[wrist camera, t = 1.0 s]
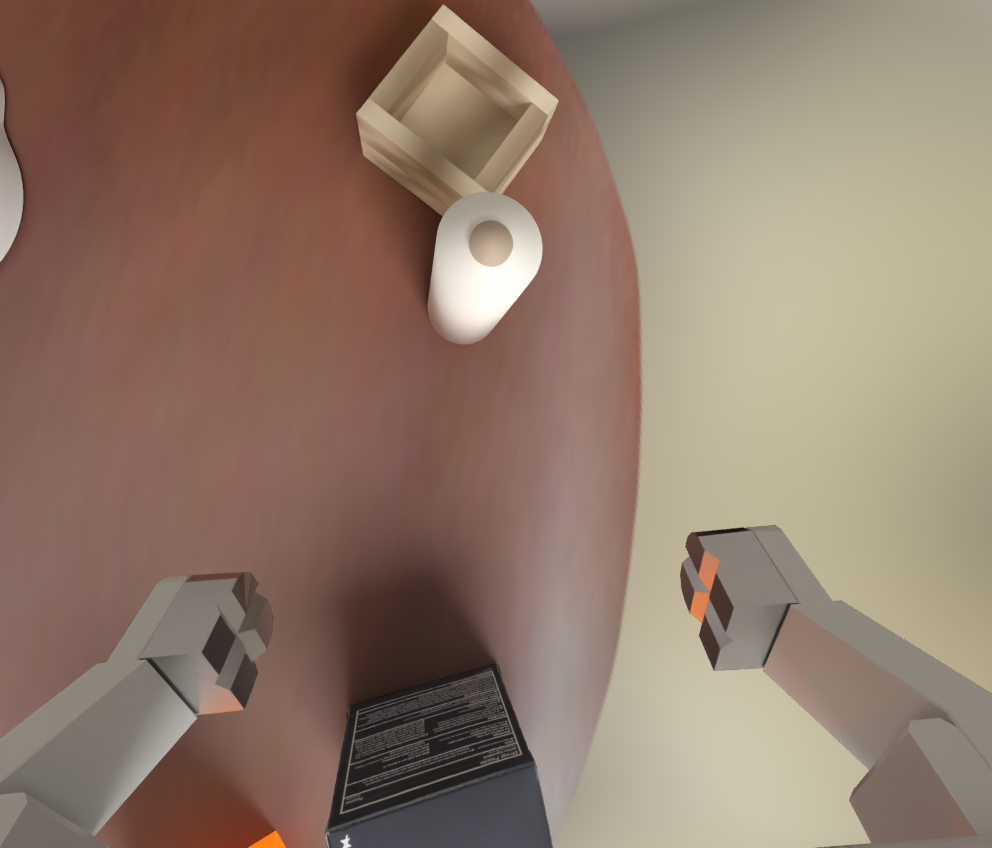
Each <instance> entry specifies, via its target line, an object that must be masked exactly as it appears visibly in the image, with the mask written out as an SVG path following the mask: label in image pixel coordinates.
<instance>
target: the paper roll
mask: <svg viewBox="0 0 992 848" xmlns="http://www.w3.org/2000/svg"><path fill="white" fill-rule="evenodd" d="M541 258H542V239H541V235H540V232H539V229H538V226H537V224H536V222H535V220H534V219H533V217H532V216H531V215H530V213H529V212H528V211H527V210H526V209H525V208H524V207H523V206H522V205H521V204H519V203H518V202H517V201H515V200H513V199H511V198H510V197H507V196H505V195H502V194H498V193H493V192H479V193H473V194H470V195H467V196H465V197H463V198H461V199H459V200H458V201H456V202H455V203H454V204H453V205H452V206H450V208H449V209H448V210H447V211H446V213H445V214H444V216H443V217H442V219H441V222H440V224H439V227H438V231H437V237H436V244H435V252H434V259H433V267H432V274H431V282H430V289H429V297H428V304H427V311H428V317H429V320H430V322H431V324H432V326H433V328H434V329H435V331H436V332H437V333H438V334H439V335H440V336H441V337H443V338H444V339H446V340H448V341H450V342H452V343H456V344H464V345H465V344H472V343H476V342H478V341H480V340H482V339H483V338H485V337H486V336H487V335H488V334H489V333H490V332H491V331H492V329H493V328H494V327H495V326H496V324H497V323H498V322H499V321H500V319H501V318H502V317H503V316H504V314H505V313H506V312H507V311H508V309H509V308H510V307H511V306H512V304H513V303H514V302H515V301H516V299H517V298H518V297H519V296H520V294H521V293H522V292H523V291H524V289H525V288H526V287H527V286H528V284H529V283H530V282H531V281H532V279H533V278H534V276H535V275H536V273H537V271H538V269H539V266H540V263H541Z"/></svg>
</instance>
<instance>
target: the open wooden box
mask: <svg viewBox="0 0 992 848" xmlns="http://www.w3.org/2000/svg"><path fill="white" fill-rule="evenodd" d="M558 102H559V100H557V99H556V98H555V97H554V96H553V95H551V94H550V93H549V92H548V91H547V90H545V89H544V88H543V87H542V86H541V85H539V84H538V83H537V82H536V81H535V80H533V79H532V78H531V77H530V76H529V75H527V74H526V73H525V72H524V71H523V70H521V69H520V68H519V67H518V66H517V65H515V64H514V63H513V62H512V61H511V60H509V59H508V58H507V57H506V56H505V55H503V54H502V53H501V52H500V51H499V50H497V49H496V48H495V47H494V46H493V45H491V44H490V43H489V42H488V41H487V40H485V39H484V38H483V37H482V36H481V35H479V34H478V33H477V32H476V31H475V30H473V29H472V28H471V27H470V26H469V25H467V24H466V23H465V22H464V21H463V20H461V19H460V18H459V17H458V16H457V15H455V14H454V13H453V12H452V11H451V10H449V9H448V8H447V7H446V6H445V5H442V6H441V8H440V9H439V10H438V11H437V13H436V14H435V15H434V16H433V18H432V19H431V20H430V22H429V23H428V24H427V25H426V27H425V28H424V29H423V30H422V32H421V33H420V34H419V35H418V37H417V38H416V39H415V40H414V42H413V43H412V44H411V45H410V47H409V48H408V49H407V50H406V52H405V53H404V54H403V55H402V57H401V58H400V59H399V61H398V62H397V63H396V64H395V66H394V67H393V68H392V69H391V71H390V72H389V73H388V74H387V76H386V77H385V78H384V79H383V81H382V82H381V83H380V84H379V86H378V87H377V88H376V89H375V91H374V92H373V93H372V94H371V96H370V97H369V98H368V99H367V101H366V102H365V103H364V105H363V106H362V107H361V108H360V110H359V111H358V112H357V113H356V115H357V121H358V127H359V133H360V139H361V145H362V150H363V156H364V157H366V158H367V159H368V160H370V161H371V162H372V163H374V164H375V165H376V166H378V167H379V168H380V169H381V170H383V171H384V172H385V173H387V174H388V175H389V176H391V177H392V178H393V179H395V180H396V181H397V182H398V183H400V184H401V185H402V186H404V187H405V188H406V189H408V190H409V191H410V192H412V193H413V194H414V195H415V196H417V197H418V198H419V199H421V200H422V201H423V202H425V203H426V204H427V205H428V206H430V207H431V208H432V209H434V210H435V211H436V212H438V213H439V214H440V215H442V216H444V214H445V213H446V211H447V210H448V209H449V208H450V206H452V205H453V204H454V203H455V202H456V201H458V200H459V199H461V198H463V197H465V196H467V195H470V194H473V193H479V192H493V193H498V194H503V192H504V191H505V190H506V188H507V187H508V186H509V184H510V183H511V182H512V180H513V179H514V177H515V176H516V175H517V173H518V172H519V171H520V169H521V168H522V167H523V165H524V164H525V162H526V161H527V160H528V158H529V157H530V156H531V154H532V153H533V152H534V150H535V149H536V147H537V146H538V145H539V143H540V142H541V140H542V138H543V135H544V133H545V131H546V129H547V126H548V124H549V122H550V120H551V117H552V115H553V113H554V111H555V109H556V106H557V104H558Z"/></svg>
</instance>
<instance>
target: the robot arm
mask: <svg viewBox="0 0 992 848" xmlns="http://www.w3.org/2000/svg"><path fill="white" fill-rule="evenodd" d="M4 108H5V94H4V87H3V83H2V81H1V79H0V262H1V260H2V259H3V258H4V256H5V255H6V253H7V252H8V250H9V248H10V247H11V245H12V243H13V241H14V239H15V236H16V234H17V231H18V228H19V225H20V221H21V216H22V210H23V185H22V178H21V173H20V170H19V166H18V163H17V160H16V157H15V155H14V153H13V150H12V148H11V146H10V143H9V141H8V139H7V136H6V133H5V129H4V125H3V123H4ZM686 549H687V551H688V553H689V555H690V556H689V557H688V558H687V559H686V560H685V561H684V562H682V567H681V574H680V577H681V588H682V592H683V596H684V600H685V602H686V605H687V608H688V610H689V612H690V614H691V615H693V616H694V617H695V618H697V619H698V620H699V621H700V622H702V626H701V630H700V634H699V637H700V639H701V641H702V644H703V646H704V648H705V651H706V653H707V656H708V658H709V660H710V662H711V665H712V667H713V670H714V671H719V670H737V669H755V668H764V669H763V671H764V672H765V673H766V674H767V675H768V676H769V677H770V678H771V679H772V680H773V681H774V682H776V683H777V684H778V685H779V686H780V687H781V688H782V689H783V690H784V691H785V692H786V693H787V694H788V695H789V696H791V697H792V698H793V699H794V700H795V701H796V702H797V703H798V704H799V705H800V706H801V707H802V708H803V709H804V710H806V711H807V712H808V713H809V714H810V715H811V716H812V717H813V718H814V719H815V720H816V721H817V722H819V724H821V725H822V726H823V727H824V728H825V729H826V730H827V731H828V732H829V733H830V734H831V735H832V736H833V737H835V738H836V739H837V740H838V741H839V742H840V743H841V744H842V745H843V746H844V747H845V748H846V749H847V750H849V751H850V752H851V753H852V754H853V755H854V756H855V757H856V758H857V759H858V760H859V761H860V762H861V763H862V764H864V765H865V766H866V767H867V768H868V769H869V771H868V773H867V774H866V775H865V776H864V778H863V779H862V780H861V781H860V783H859V784H858V785H857V786H856V787H855V788H854V790H853V792H852V794H851V797H850V799H849V801H850V803H851V805H852V807H853V808H854V810H855V812H856V814H857V816H858V818H859V820H860V822H861V824H862V825H863V828H864V830H865V832H866V834H867V836H868V837H869V839H870V841H871V843H869V844H857V845H844V846H831V847H819V848H992V693H990V692H989V691H987V690H985V689H984V688H982V687H981V686H979V685H977V684H976V683H974V682H972V681H971V680H969V679H967V678H966V677H964V676H963V675H961V674H960V673H958V672H956V671H955V670H953V669H951V668H950V667H948V666H946V665H945V664H943V663H942V662H940V661H939V660H937V659H935V658H934V657H932V656H930V655H929V654H927V653H926V652H924V651H922V650H921V649H919V648H918V647H916V646H914V645H913V644H911V643H909V642H908V641H906V640H905V639H903V638H901V637H900V636H898V635H896V634H895V633H893V632H892V631H890V630H888V629H886V628H885V627H884V626H882V625H880V624H879V623H877V622H875V621H874V620H872V619H870V618H869V617H867V616H866V615H864V614H862V613H861V612H859V611H858V610H856V609H854V608H853V607H851V606H850V605H848V604H846V603H844V602H843V601H832V600H831V598H830V597H829V596H828V594H827V593H826V591H825V590H824V588H823V587H822V586H821V584H820V583H819V581H818V580H817V579H816V577H815V576H814V574H813V573H812V572H811V570H810V569H809V568H808V566H807V565H806V563H805V562H804V560H803V559H802V558H801V556H800V555H799V554H798V552H797V551H796V549H795V548H794V547H793V545H792V544H791V542H790V541H789V540H788V538H787V537H786V535H785V534H784V533H783V531H782V530H781V529H780V528H779V527H777V526H776V525H770V526H758V527H747V528H743V527H742V528H732V529H722V530H712V531H701V532H692V533H691V534H690V535H689V536H688V538H687V542H686ZM258 584H259V583H258V581H257V580H256V578H255V577H254V575H253V574H252V572H238V573H221V574H205V575H191V576H177V577H166V578H164V579H163V580H162V581H160V582H159V583H157V584H156V586H155V587H154V589H153V590H152V592H151V593H150V595H149V597H148V598H147V600H146V601H145V603H144V604H143V606H142V607H141V609H140V611H139V612H138V614H137V615H136V617H135V618H134V620H133V621H132V623H131V625H130V626H129V628H128V629H127V631H126V632H125V634H124V635H123V637H122V639H121V640H120V642H119V643H118V645H117V646H116V648H115V649H114V651H113V653H112V654H111V656H110V657H109V659H108V660H107V662H106V663H97V664H96V665H95V666H93V667H92V668H91V669H90V670H88V671H87V672H86V673H84V674H83V675H82V676H81V677H79V678H78V679H77V680H75V681H74V682H73V683H71V684H70V685H69V686H68V687H66V688H65V689H64V690H62V691H61V692H60V693H59V694H57V695H56V696H55V697H53V698H52V699H51V700H50V701H48V702H47V703H46V704H44V705H43V706H42V707H40V708H39V709H38V710H37V711H35V712H34V713H33V714H31V715H30V716H29V717H28V718H26V719H25V720H24V721H22V722H21V723H20V724H19V725H17V726H16V727H15V728H13V729H12V730H11V731H10V732H8V733H7V734H6V735H4V736H3V737H2V738H0V848H112V847H110V846H109V845H107V844H106V843H104V842H102V841H101V840H99V839H98V838H96V837H94V836H95V835H96V834H97V832H98V831H99V830H100V829H101V828H102V827H103V826H104V824H105V823H106V822H107V821H108V820H109V819H110V818H111V816H112V815H113V814H114V813H115V812H116V811H117V810H118V808H119V807H120V806H121V805H122V804H123V803H124V801H125V800H126V799H127V798H128V797H129V796H130V795H131V793H132V792H133V791H134V790H135V789H136V788H137V787H138V785H139V784H140V783H141V782H142V781H143V780H144V779H145V777H146V776H147V775H148V774H149V773H150V772H151V771H152V769H153V768H154V767H155V766H156V765H157V764H158V763H159V761H160V760H161V759H162V758H163V757H164V756H165V755H166V753H167V752H168V751H169V750H170V749H171V748H172V747H173V745H174V744H175V743H176V742H177V741H178V740H179V738H180V737H181V736H182V735H183V734H184V733H185V732H186V730H187V729H188V728H189V727H190V726H191V725H192V724H193V722H194V721H195V720H196V719H197V716H196V715H203V714H212V713H221V712H229V711H238V710H245V708H246V705H247V702H248V700H249V697H250V694H251V691H252V689H253V686H254V683H255V681H256V678H257V675H258V670H257V667H256V664H255V660H256V659H257V658H258V657H259V656H260V655H261V654H263V653H264V652H265V651H266V650H267V648H268V645H269V642H270V639H271V636H272V631H273V620H274V617H273V612H272V607H271V605H270V603H269V601H268V599H267V598H265V597H264V596H262V595H260V594H258V593H257V592H255V591H256V589H257V586H258Z"/></svg>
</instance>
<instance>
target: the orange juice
mask: <svg viewBox="0 0 992 848" xmlns="http://www.w3.org/2000/svg"><path fill="white" fill-rule="evenodd" d="M248 848H286V847H285V845H284V844H283V842H282V840H281V838H280V837H279V835H278V833H277V831H275V832H273V833H271V834H270V835H268V836H266V837H265V838H263V839H262V840H260V841H258V842H257V843H255V844H253V845H252V846H250V847H248Z"/></svg>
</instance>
